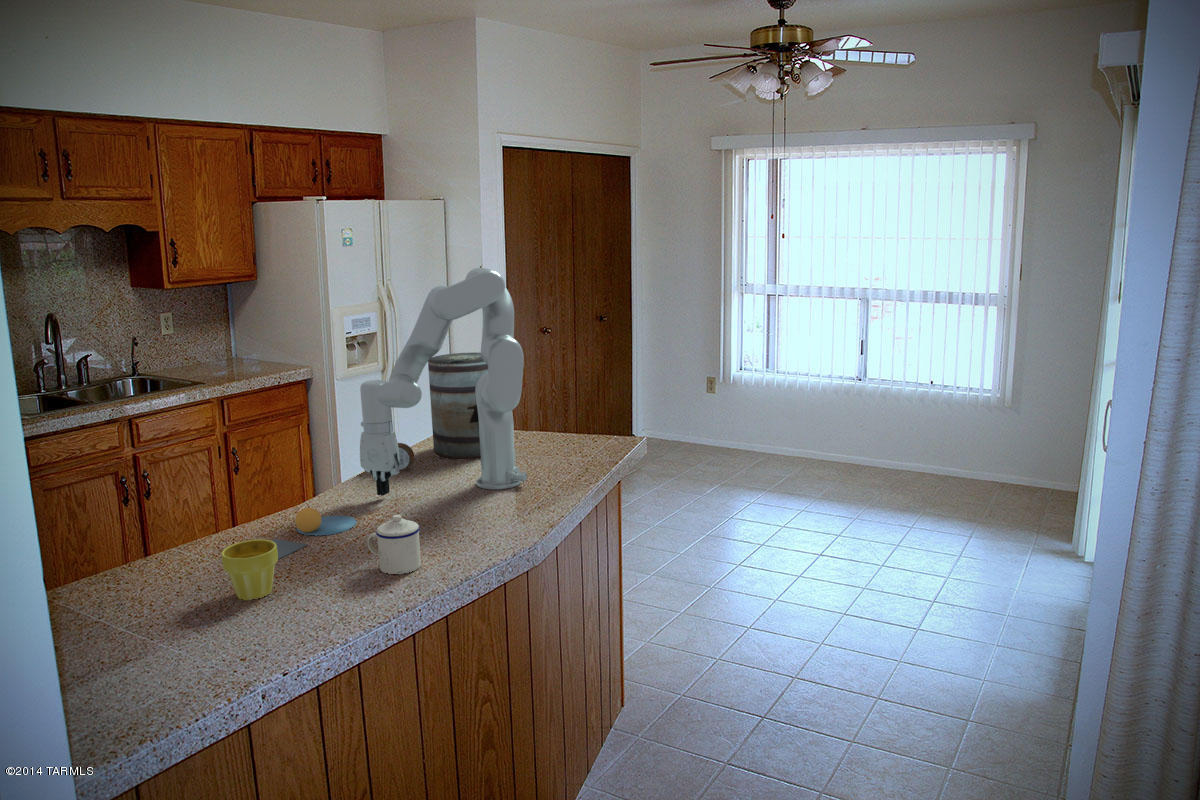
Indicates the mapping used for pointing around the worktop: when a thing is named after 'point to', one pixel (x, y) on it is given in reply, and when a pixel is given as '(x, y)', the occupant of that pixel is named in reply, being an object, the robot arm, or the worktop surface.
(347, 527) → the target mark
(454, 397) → the barrel
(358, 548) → the worktop surface
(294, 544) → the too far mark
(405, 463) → the tin
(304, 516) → the ball
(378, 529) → the teacup with lid
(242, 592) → the plant pot
